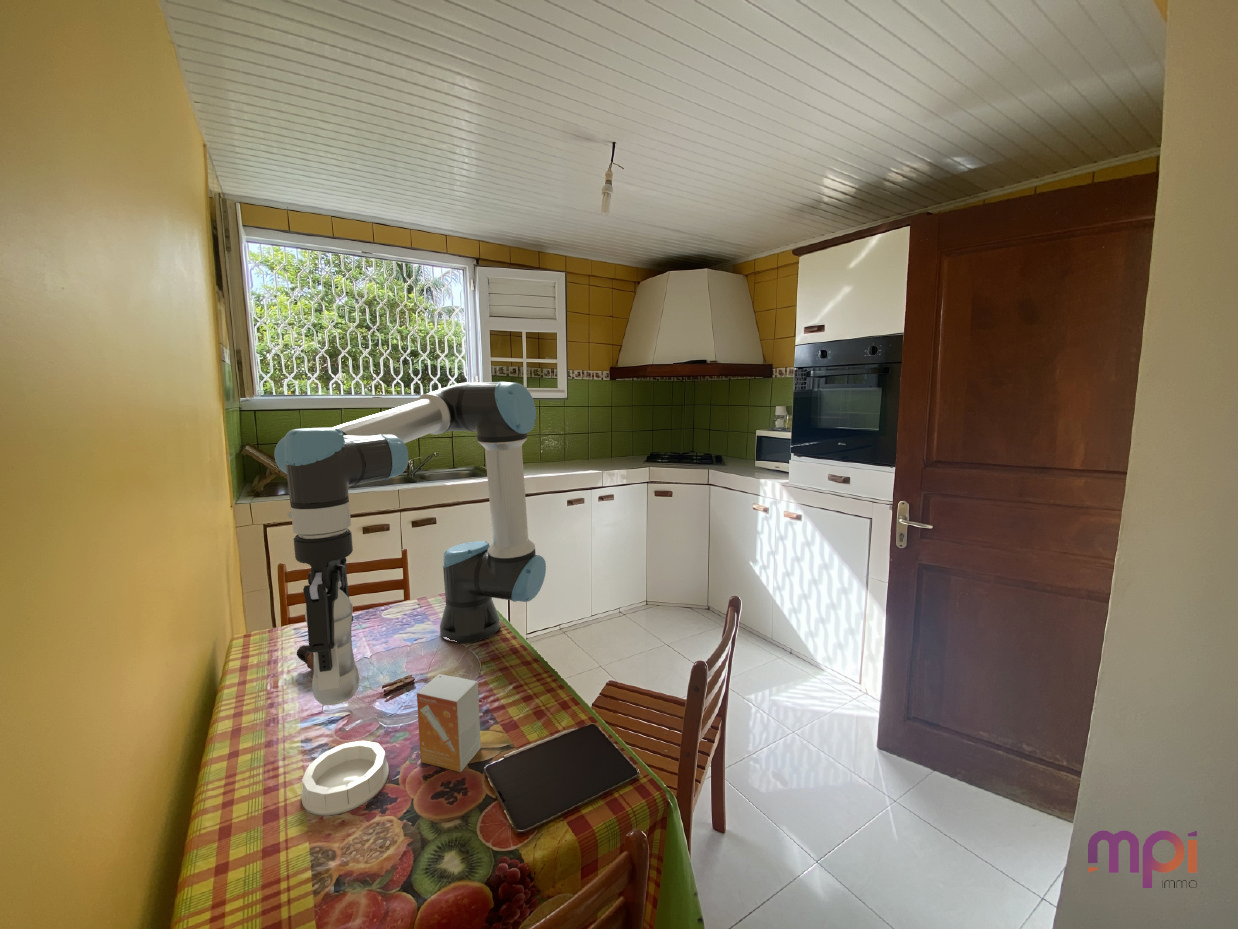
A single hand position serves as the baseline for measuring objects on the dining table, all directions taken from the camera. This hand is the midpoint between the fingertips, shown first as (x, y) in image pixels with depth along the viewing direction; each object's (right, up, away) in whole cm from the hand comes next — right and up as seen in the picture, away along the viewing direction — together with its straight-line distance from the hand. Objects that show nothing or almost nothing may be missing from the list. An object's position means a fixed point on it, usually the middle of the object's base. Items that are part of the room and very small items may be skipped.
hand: (335, 675), depth 79 cm
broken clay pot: (-23, -14, +36) cm, 45 cm away
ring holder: (0, -19, +3) cm, 19 cm away
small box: (+15, -18, +9) cm, 25 cm away
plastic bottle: (0, -4, +1) cm, 4 cm away
